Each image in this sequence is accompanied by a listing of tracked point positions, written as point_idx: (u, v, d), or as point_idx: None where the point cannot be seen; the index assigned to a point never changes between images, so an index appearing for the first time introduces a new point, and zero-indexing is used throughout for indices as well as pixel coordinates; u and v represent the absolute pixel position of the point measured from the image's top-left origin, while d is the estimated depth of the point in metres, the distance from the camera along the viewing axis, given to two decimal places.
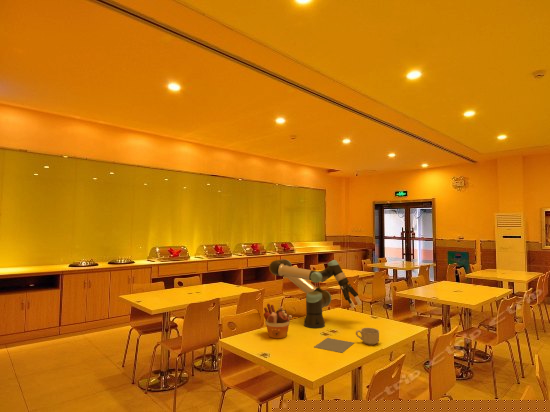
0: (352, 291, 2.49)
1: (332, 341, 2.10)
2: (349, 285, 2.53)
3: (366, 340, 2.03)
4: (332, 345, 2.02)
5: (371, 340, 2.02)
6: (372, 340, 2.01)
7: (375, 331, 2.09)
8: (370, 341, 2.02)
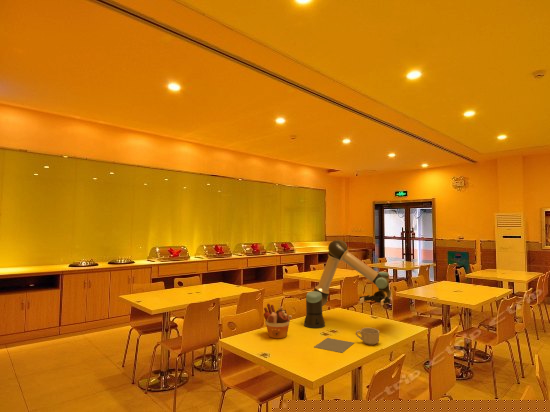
0: (369, 300, 2.28)
1: (332, 341, 2.10)
2: None
3: (366, 340, 2.03)
4: (332, 345, 2.02)
5: (371, 340, 2.02)
6: (372, 340, 2.01)
7: (375, 331, 2.09)
8: (370, 341, 2.02)
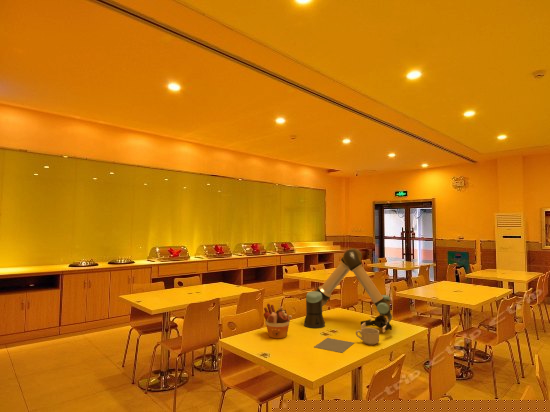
0: None
1: (332, 341, 2.10)
2: None
3: (366, 340, 2.03)
4: (332, 345, 2.02)
5: (371, 340, 2.02)
6: (372, 340, 2.01)
7: (375, 331, 2.09)
8: (370, 341, 2.02)
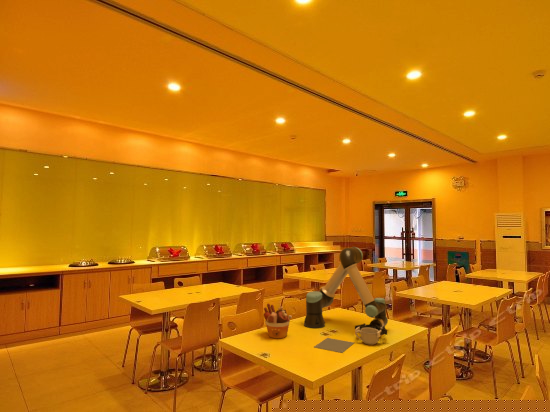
0: None
1: (332, 341, 2.10)
2: None
3: (366, 340, 2.03)
4: (332, 345, 2.02)
5: (371, 340, 2.02)
6: (372, 340, 2.02)
7: (374, 331, 2.10)
8: (370, 341, 2.02)
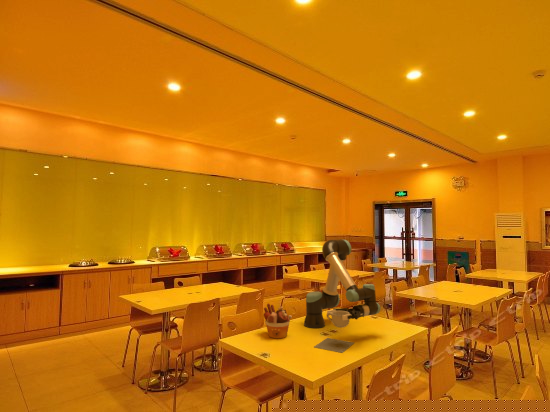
0: None
1: (332, 341, 2.10)
2: (347, 311, 2.16)
3: (334, 322, 2.01)
4: (332, 345, 2.02)
5: (338, 322, 1.99)
6: (339, 322, 1.99)
7: (347, 314, 2.05)
8: (337, 323, 2.00)
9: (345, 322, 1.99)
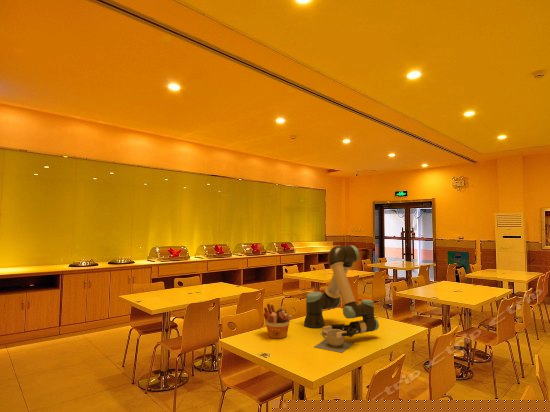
0: (339, 329, 2.11)
1: None
2: (344, 327, 2.15)
3: (328, 341, 2.01)
4: None
5: (332, 341, 1.99)
6: (333, 342, 1.98)
7: None
8: (331, 342, 1.99)
9: (339, 341, 1.98)
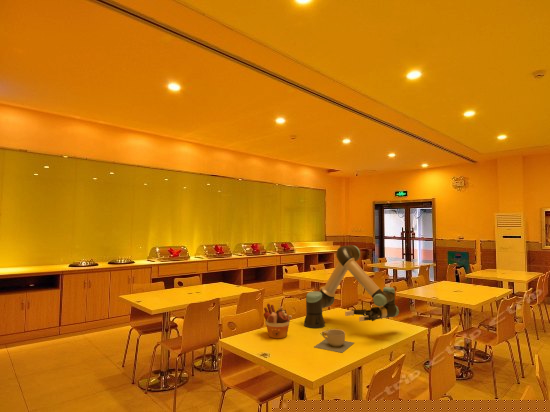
0: (361, 314, 2.20)
1: None
2: None
3: (329, 341, 2.00)
4: None
5: (333, 342, 1.99)
6: (334, 342, 1.98)
7: (343, 333, 2.05)
8: (332, 342, 1.99)
9: (340, 341, 1.99)
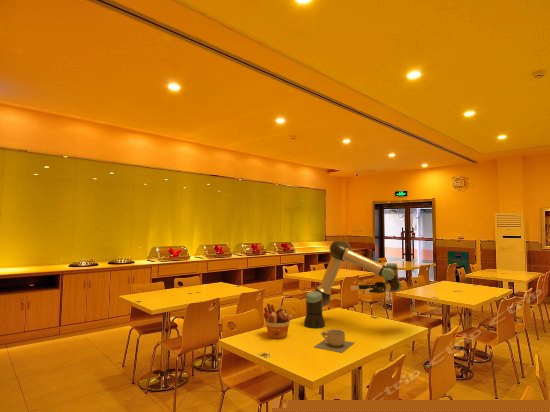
0: (365, 288, 2.30)
1: None
2: (369, 287, 2.33)
3: (329, 341, 2.00)
4: None
5: (333, 342, 1.99)
6: (334, 342, 1.98)
7: (343, 333, 2.05)
8: (332, 342, 1.99)
9: (340, 341, 1.99)
